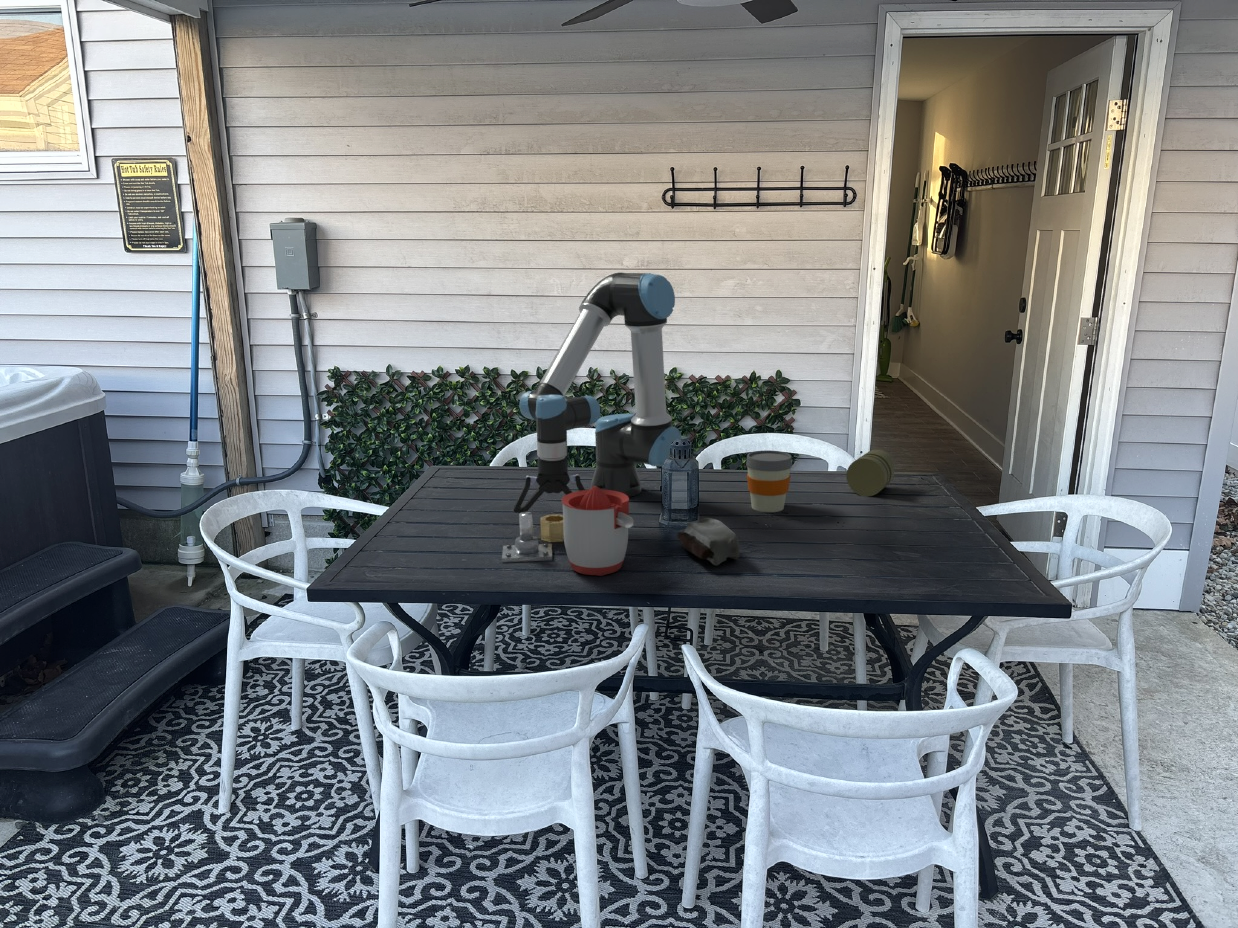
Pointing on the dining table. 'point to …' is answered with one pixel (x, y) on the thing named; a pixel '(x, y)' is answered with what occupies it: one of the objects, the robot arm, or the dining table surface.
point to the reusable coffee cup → (768, 479)
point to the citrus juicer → (596, 530)
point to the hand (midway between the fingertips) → (554, 536)
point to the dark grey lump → (710, 540)
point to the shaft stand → (526, 544)
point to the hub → (552, 528)
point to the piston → (871, 472)
